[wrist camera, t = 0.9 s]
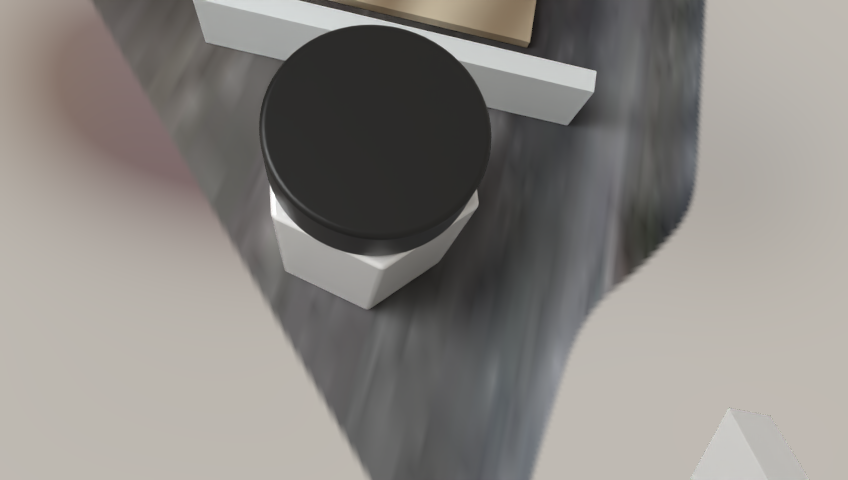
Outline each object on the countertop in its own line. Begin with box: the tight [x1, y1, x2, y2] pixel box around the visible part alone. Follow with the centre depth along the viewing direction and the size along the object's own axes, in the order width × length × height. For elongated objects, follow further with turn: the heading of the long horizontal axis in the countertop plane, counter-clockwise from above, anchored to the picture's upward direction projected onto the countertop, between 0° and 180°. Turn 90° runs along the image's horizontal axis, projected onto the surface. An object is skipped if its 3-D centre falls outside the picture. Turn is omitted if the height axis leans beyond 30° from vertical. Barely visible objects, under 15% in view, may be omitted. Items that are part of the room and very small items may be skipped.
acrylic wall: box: [193, 0, 597, 125], centre depth 36 cm, size 20×1×4 cm, turn 80°
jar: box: [259, 25, 491, 309], centre depth 30 cm, size 9×8×12 cm
